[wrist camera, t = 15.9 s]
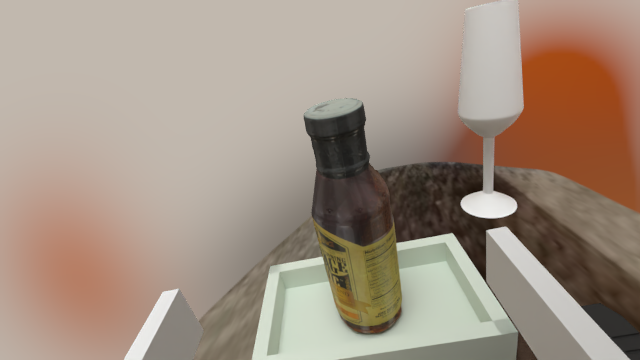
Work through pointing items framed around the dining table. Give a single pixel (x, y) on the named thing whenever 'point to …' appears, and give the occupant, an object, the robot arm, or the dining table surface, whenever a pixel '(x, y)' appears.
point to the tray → (409, 329)
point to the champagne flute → (490, 91)
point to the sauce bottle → (353, 218)
